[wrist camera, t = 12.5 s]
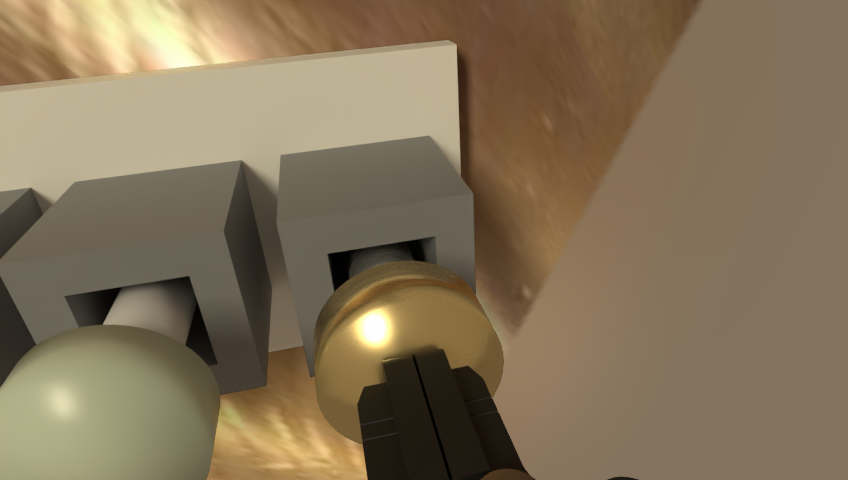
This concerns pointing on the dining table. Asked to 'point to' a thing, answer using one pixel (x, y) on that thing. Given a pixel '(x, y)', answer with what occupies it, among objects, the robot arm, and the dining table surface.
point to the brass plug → (395, 328)
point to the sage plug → (114, 396)
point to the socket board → (227, 193)
